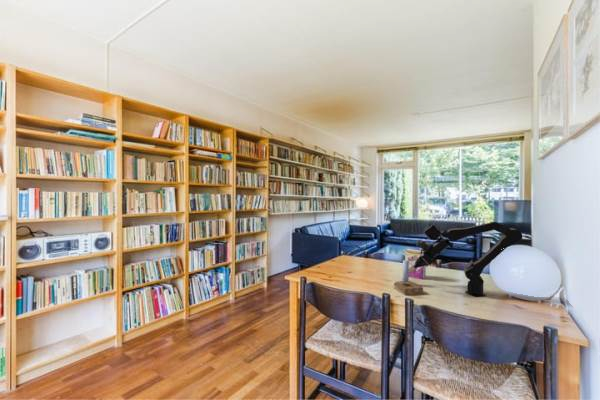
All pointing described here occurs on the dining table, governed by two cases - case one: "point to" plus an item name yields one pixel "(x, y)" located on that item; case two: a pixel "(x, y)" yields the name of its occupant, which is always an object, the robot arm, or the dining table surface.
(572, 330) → the dining table surface
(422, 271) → the candy bar box
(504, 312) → the dining table surface
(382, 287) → the dining table surface
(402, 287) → the hole block
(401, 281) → the mat
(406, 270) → the peg
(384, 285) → the dining table surface
